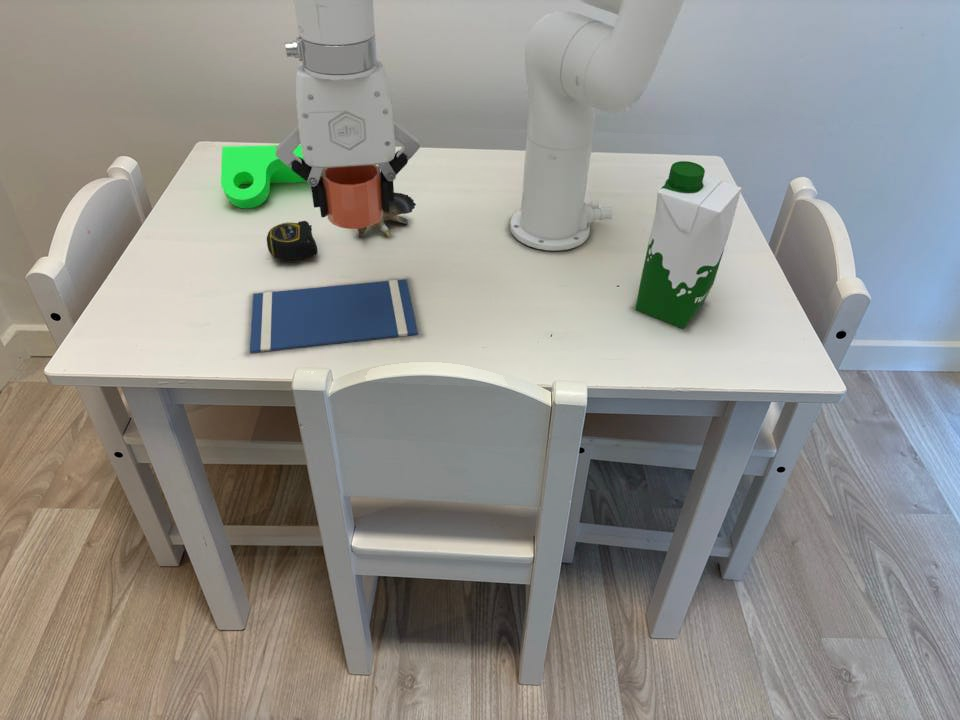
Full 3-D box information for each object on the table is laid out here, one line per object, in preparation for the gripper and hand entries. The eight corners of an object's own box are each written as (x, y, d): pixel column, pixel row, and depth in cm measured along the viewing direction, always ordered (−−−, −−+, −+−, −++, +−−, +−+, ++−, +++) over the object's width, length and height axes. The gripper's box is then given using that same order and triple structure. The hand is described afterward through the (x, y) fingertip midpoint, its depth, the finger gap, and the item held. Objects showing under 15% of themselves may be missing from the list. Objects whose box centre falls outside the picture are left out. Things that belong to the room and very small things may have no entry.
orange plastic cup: (380, 198, 85) (377, 157, 82) (386, 227, 81) (383, 184, 77) (326, 202, 84) (320, 160, 81) (328, 231, 79) (323, 188, 76)
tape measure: (320, 262, 101) (316, 241, 98) (272, 270, 99) (267, 247, 96) (313, 238, 105) (310, 217, 103) (267, 244, 104) (263, 223, 101)
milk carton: (652, 280, 100) (683, 150, 86) (712, 303, 96) (754, 171, 82) (625, 310, 94) (654, 176, 81) (688, 336, 90) (729, 199, 77)
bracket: (232, 222, 115) (219, 200, 108) (234, 171, 118) (221, 146, 111) (353, 218, 117) (348, 196, 110) (351, 168, 120) (346, 143, 113)
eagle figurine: (379, 247, 102) (425, 217, 105) (353, 203, 100) (401, 174, 103) (360, 250, 108) (404, 222, 112) (336, 209, 106) (382, 182, 109)
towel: (406, 281, 98) (406, 278, 98) (417, 334, 89) (417, 332, 89) (253, 295, 94) (253, 293, 94) (250, 353, 86) (249, 350, 85)
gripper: (249, 69, 66) (279, 231, 78) (429, 62, 69) (431, 219, 81) (252, 43, 71) (280, 199, 83) (418, 38, 74) (422, 188, 86)
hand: (354, 207), depth 82 cm, fingers closed on orange plastic cup, 6 cm apart
